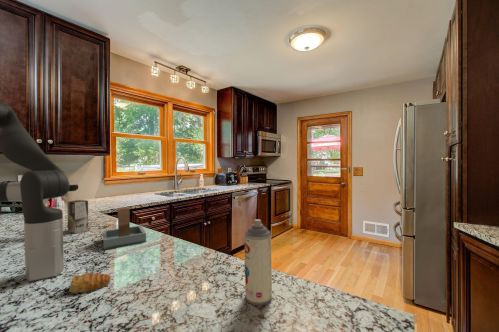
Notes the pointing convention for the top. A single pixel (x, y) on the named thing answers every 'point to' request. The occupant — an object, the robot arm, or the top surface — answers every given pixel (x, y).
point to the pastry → (88, 282)
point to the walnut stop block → (123, 221)
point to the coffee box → (77, 216)
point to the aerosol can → (258, 264)
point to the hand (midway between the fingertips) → (77, 187)
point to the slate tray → (123, 238)
